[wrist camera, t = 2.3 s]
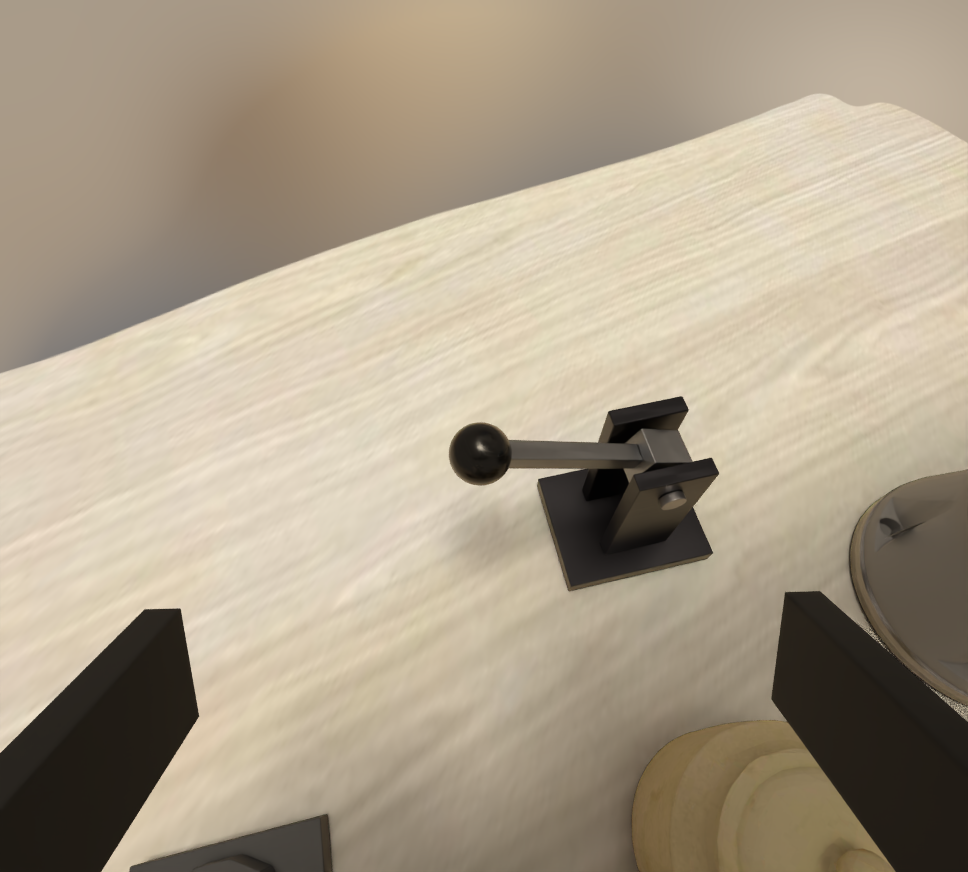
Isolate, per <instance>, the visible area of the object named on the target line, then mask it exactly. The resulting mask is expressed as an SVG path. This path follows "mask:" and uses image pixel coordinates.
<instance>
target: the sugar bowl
mask: <svg viewBox="0 0 968 872" xmlns="http://www.w3.org/2000/svg"><path fill="white" fill-rule="evenodd" d="M632 841H633V849H634V853H635V858H636V862H637V866H638V869H639V872H895V870H894V869H893V868H892V866H891V865H890V863H889V862H888V861H887V859H886V858H885V856H884V855H883V854H882V852H881V851H880V850H879V848H878V847H877V845H876V844H875V843H874V841H873V840H872V838H871V837H870V836H869V834H868V833H867V831H866V830H865V829H864V827H863V826H862V825H861V823H860V822H859V820H858V819H857V818H856V816H855V815H854V813H853V812H852V811H851V809H850V808H849V806H848V805H847V804H846V802H845V801H844V800H843V798H842V797H841V795H840V794H839V793H838V791H837V790H836V788H835V787H834V786H833V784H832V783H831V781H830V780H829V779H828V777H827V776H826V775H825V773H824V772H823V770H822V769H821V768H820V766H819V765H818V763H817V762H816V761H815V759H814V758H813V756H812V755H811V754H810V752H809V751H808V750H807V748H806V747H805V745H804V744H803V743H802V741H801V740H800V738H799V737H798V736H797V734H796V733H795V731H794V730H793V729H792V727H791V726H790V725H789V723H788V722H783V721H776V720H757V721H745V722H736V723H728V724H722V725H718V726H713V727H709V728H706V729H702V730H698V731H694V732H690V733H687V734H684V735H682V736H680V737H678V738H676V739H674V740H673V741H671V742H669V743H668V744H667V745H665V746H664V747H663V748H662V749H661V750H660V751H658V753H657V754H656V755H655V756H654V758H653V759H652V760H651V762H650V763H649V764H648V765H647V767H646V769H645V771H644V773H643V775H642V777H641V779H640V781H639V784H638V787H637V790H636V793H635V797H634V803H633V809H632Z"/></svg>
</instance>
